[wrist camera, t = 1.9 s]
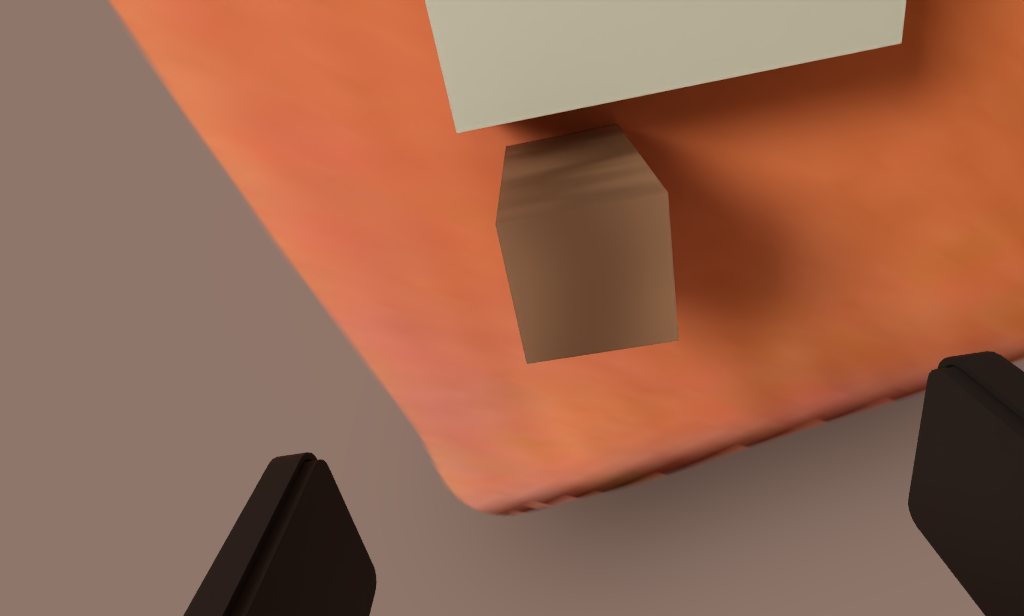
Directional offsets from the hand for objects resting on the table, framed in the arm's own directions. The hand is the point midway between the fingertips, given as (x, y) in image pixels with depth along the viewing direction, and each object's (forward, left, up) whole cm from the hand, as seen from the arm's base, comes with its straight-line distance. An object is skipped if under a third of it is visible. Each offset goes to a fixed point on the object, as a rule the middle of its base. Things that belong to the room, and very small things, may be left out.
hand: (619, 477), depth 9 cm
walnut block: (0, 0, -14) cm, 14 cm away
